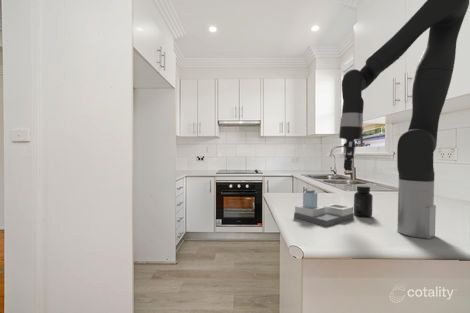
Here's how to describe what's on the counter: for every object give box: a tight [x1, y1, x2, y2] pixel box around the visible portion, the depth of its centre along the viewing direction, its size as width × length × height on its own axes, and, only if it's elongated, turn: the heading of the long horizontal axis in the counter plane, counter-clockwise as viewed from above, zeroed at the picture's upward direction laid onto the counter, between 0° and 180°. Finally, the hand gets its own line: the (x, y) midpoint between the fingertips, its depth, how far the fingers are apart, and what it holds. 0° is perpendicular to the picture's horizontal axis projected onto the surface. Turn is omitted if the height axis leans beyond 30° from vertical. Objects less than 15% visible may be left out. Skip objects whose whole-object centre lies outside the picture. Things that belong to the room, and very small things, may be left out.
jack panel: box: [293, 203, 355, 227], centre depth 98 cm, size 14×19×4 cm
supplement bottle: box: [353, 185, 374, 218], centre depth 103 cm, size 7×7×12 cm
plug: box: [302, 189, 318, 209], centre depth 97 cm, size 4×4×9 cm
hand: (347, 169), depth 93 cm, fingers open, 8 cm apart
